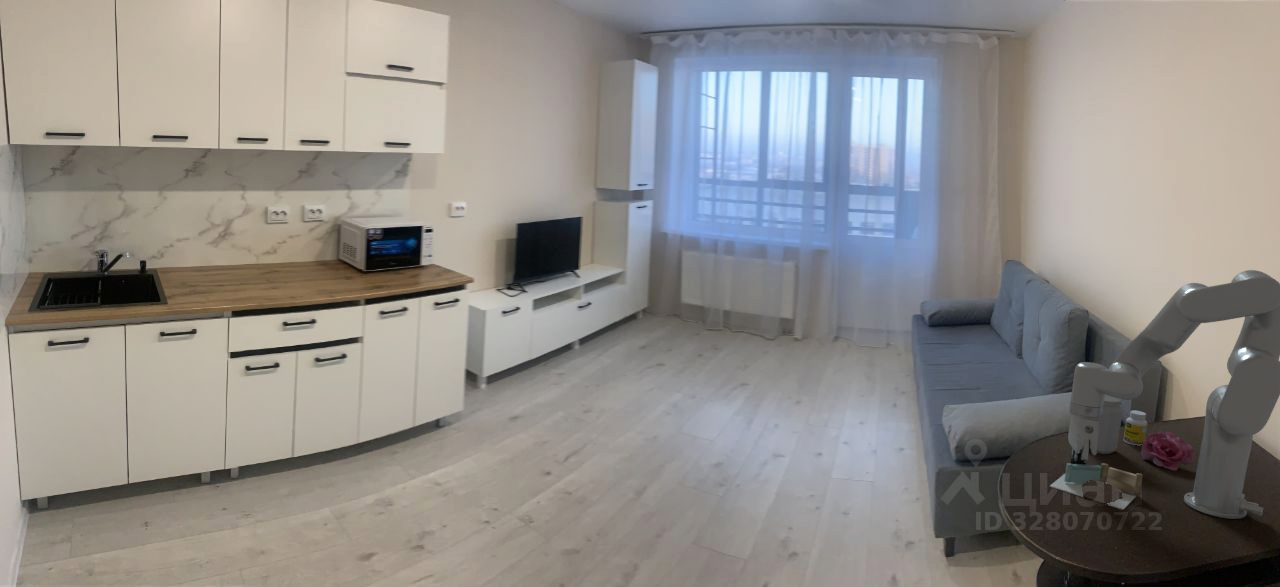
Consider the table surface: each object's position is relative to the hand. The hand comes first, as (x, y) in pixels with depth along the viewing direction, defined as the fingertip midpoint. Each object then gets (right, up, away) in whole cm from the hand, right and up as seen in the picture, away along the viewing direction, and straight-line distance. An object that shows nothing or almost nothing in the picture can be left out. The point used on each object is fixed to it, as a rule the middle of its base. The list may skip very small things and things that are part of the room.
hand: (1076, 473), depth 203 cm
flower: (+33, 0, +12) cm, 35 cm away
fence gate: (0, -1, -3) cm, 3 cm away
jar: (+19, +2, +22) cm, 30 cm away
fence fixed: (+8, -3, -6) cm, 10 cm away
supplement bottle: (+33, +3, +28) cm, 43 cm away
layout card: (+2, -3, -5) cm, 6 cm away
